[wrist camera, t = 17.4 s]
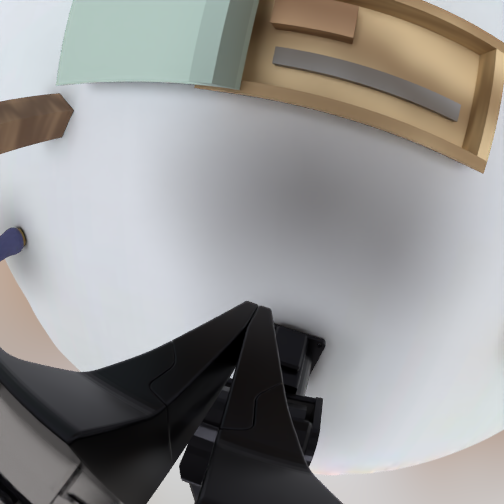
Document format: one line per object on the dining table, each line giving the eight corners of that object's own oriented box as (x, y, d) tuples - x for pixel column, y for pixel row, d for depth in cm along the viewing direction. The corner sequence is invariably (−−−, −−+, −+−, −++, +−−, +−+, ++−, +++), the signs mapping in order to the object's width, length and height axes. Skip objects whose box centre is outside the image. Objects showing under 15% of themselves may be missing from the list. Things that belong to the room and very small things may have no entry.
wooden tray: (462, 164, 15) (483, 173, 12) (217, 91, 19) (194, 87, 16) (485, 53, 11) (507, 45, 8) (240, -15, 14) (222, -34, 11)
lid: (239, 90, 15) (211, 83, 11) (63, 85, 17) (27, 88, 14) (267, -33, 11) (247, -62, 7) (81, -5, 13) (48, -11, 10)
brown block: (73, 110, 22) (-41, 135, 11) (61, 137, 24) (-44, 170, 13) (59, 93, 22) (-48, 113, 11) (48, 119, 24) (-52, 146, 12)
